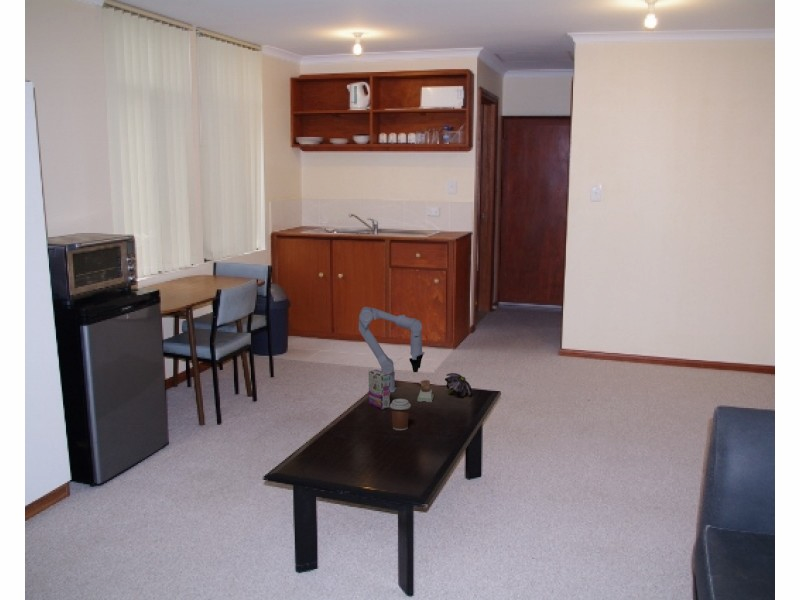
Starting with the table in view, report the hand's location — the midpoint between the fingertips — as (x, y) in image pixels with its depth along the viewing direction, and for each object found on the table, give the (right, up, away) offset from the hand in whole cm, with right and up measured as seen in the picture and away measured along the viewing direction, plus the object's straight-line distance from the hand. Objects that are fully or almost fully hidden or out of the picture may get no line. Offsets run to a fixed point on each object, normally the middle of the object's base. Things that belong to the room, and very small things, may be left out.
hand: (416, 370), depth 364 cm
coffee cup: (-8, -20, -53) cm, 57 cm away
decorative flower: (+20, -12, -7) cm, 25 cm away
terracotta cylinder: (+4, -8, -14) cm, 17 cm away
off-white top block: (+4, -11, -14) cm, 18 cm away
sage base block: (+4, -14, -13) cm, 20 cm away
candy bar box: (-18, -15, -23) cm, 33 cm away
